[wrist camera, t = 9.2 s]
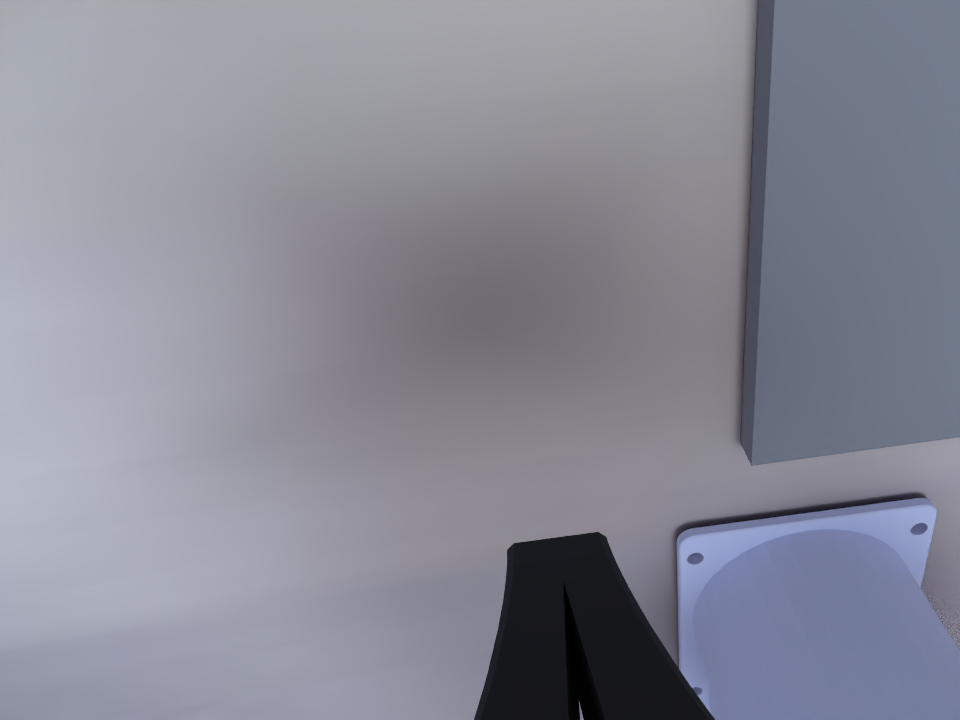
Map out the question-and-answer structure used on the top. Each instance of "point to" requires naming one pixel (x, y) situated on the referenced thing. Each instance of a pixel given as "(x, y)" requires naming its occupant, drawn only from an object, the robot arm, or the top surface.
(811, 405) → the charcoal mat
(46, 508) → the top surface
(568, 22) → the top surface
